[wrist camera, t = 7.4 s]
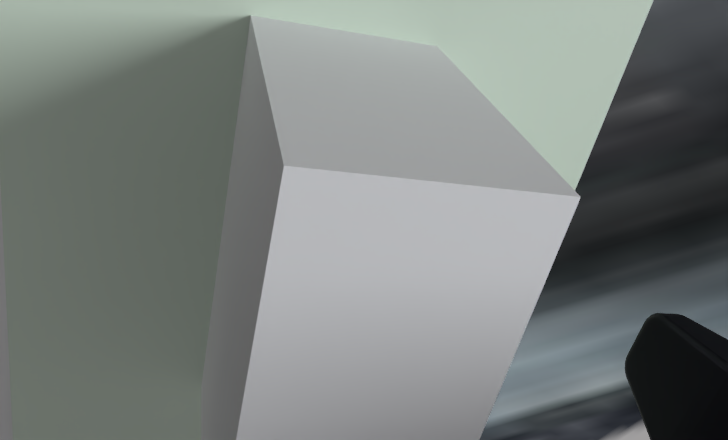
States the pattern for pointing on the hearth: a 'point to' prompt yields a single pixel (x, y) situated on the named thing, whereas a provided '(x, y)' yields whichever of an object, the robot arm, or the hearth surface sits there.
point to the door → (285, 208)
